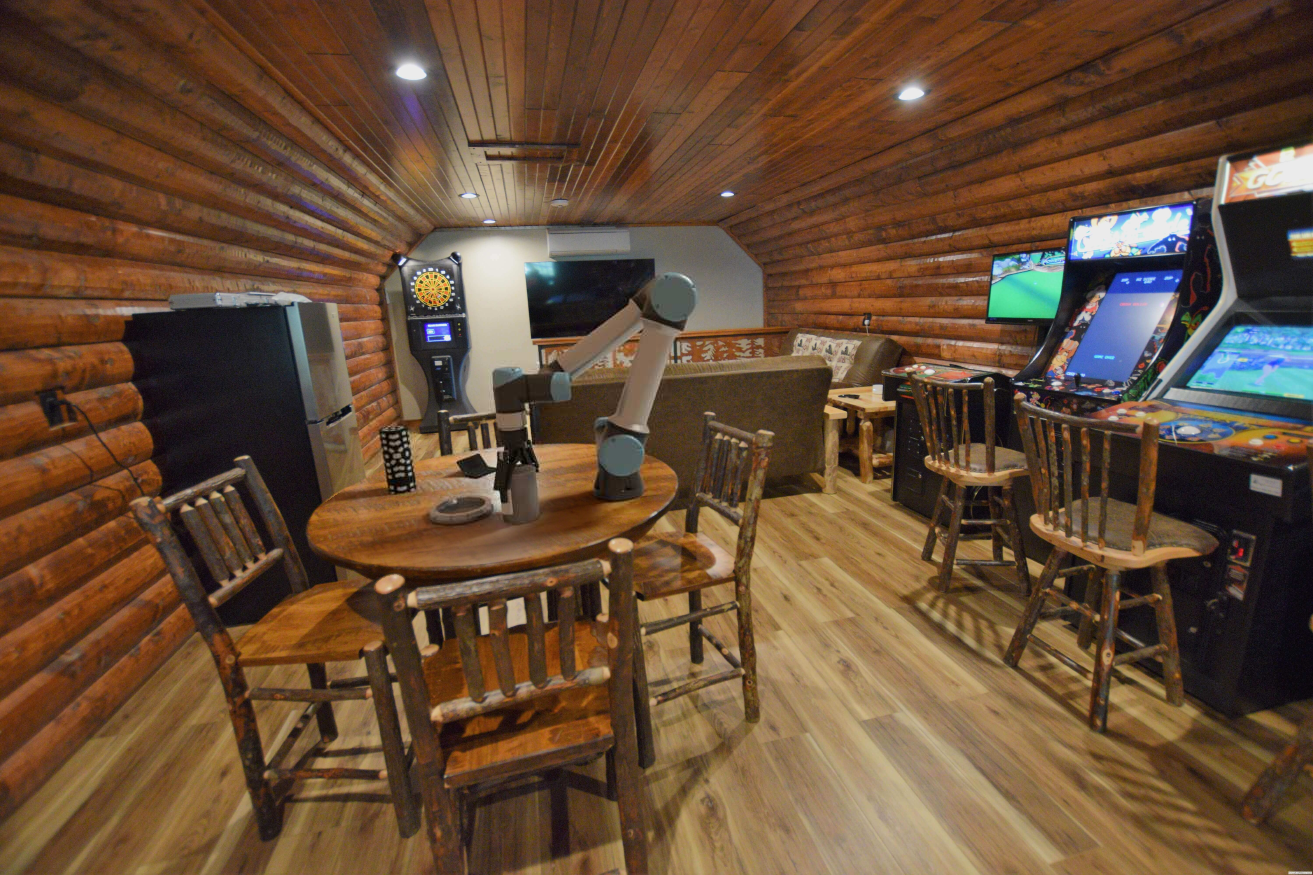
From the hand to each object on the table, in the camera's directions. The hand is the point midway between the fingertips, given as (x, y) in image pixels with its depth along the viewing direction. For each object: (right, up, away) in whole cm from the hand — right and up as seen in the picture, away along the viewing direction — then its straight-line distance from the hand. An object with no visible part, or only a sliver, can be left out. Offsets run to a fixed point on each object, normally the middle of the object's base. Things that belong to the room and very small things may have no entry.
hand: (520, 504), depth 155 cm
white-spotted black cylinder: (-44, +1, +29) cm, 53 cm away
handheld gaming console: (-24, +5, +44) cm, 50 cm away
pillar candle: (0, -4, +1) cm, 4 cm away
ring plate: (-18, -3, +6) cm, 19 cm away
